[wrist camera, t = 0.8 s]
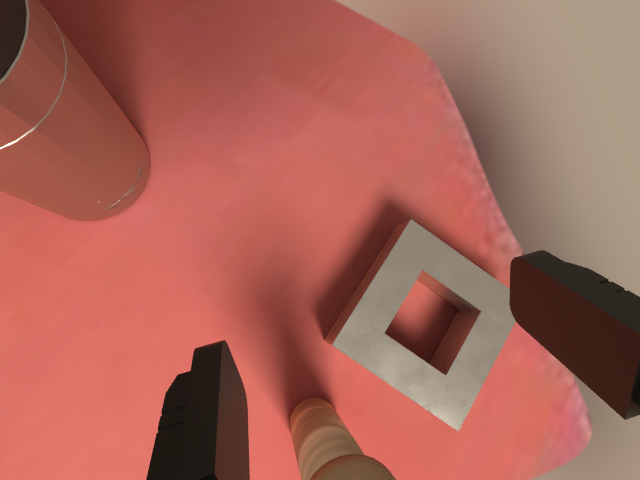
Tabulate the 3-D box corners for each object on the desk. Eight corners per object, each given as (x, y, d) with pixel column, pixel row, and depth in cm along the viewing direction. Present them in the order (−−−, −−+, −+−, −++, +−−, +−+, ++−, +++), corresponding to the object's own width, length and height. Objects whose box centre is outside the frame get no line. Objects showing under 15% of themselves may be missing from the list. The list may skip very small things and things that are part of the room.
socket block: (324, 339, 32) (331, 345, 29) (395, 226, 34) (411, 219, 31) (437, 416, 33) (458, 431, 29) (500, 300, 35) (526, 301, 32)
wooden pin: (269, 434, 30) (278, 551, 17) (305, 377, 31) (342, 442, 18) (322, 469, 31) (374, 612, 17) (356, 411, 32) (431, 502, 18)
